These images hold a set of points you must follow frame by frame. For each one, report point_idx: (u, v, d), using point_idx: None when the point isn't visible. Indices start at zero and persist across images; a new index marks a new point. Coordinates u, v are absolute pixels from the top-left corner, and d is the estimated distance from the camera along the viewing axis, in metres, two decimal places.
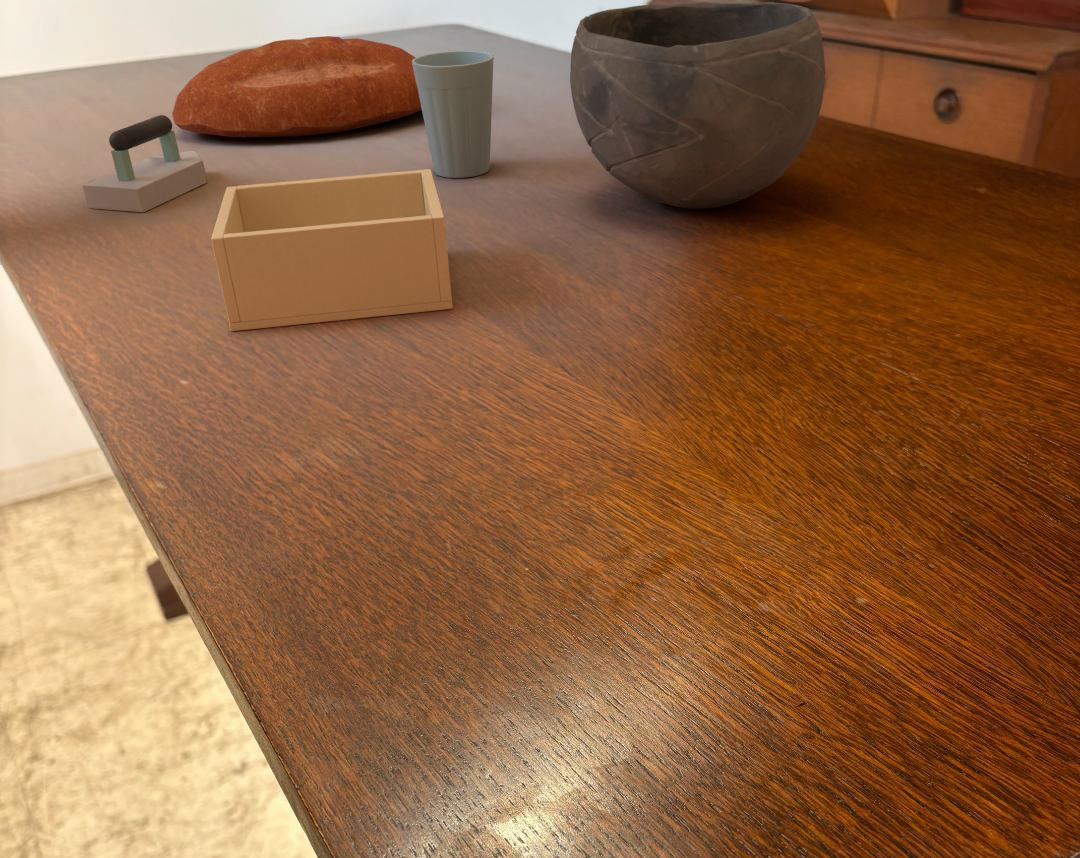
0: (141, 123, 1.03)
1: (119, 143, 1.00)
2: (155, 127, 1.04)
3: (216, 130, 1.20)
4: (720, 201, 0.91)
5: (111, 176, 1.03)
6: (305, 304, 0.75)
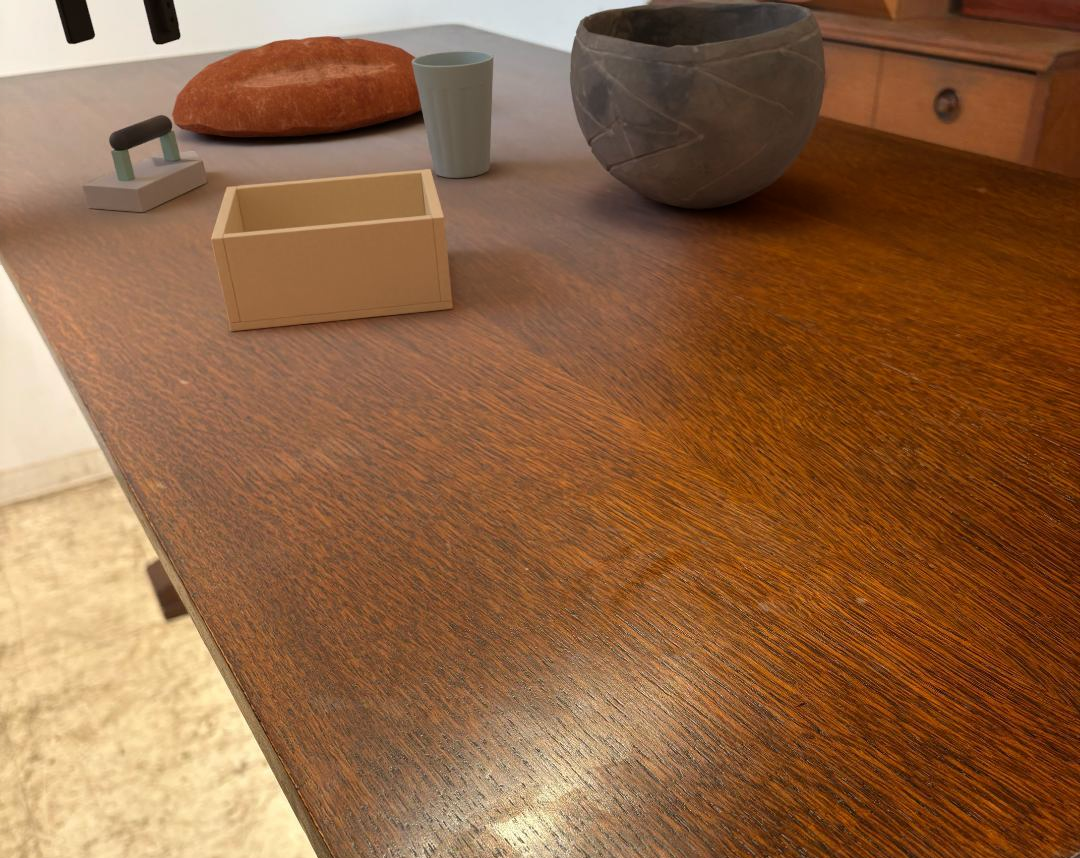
0: (141, 123, 1.03)
1: (119, 143, 1.00)
2: (155, 127, 1.04)
3: (216, 130, 1.20)
4: (720, 201, 0.91)
5: (111, 176, 1.03)
6: (305, 304, 0.75)
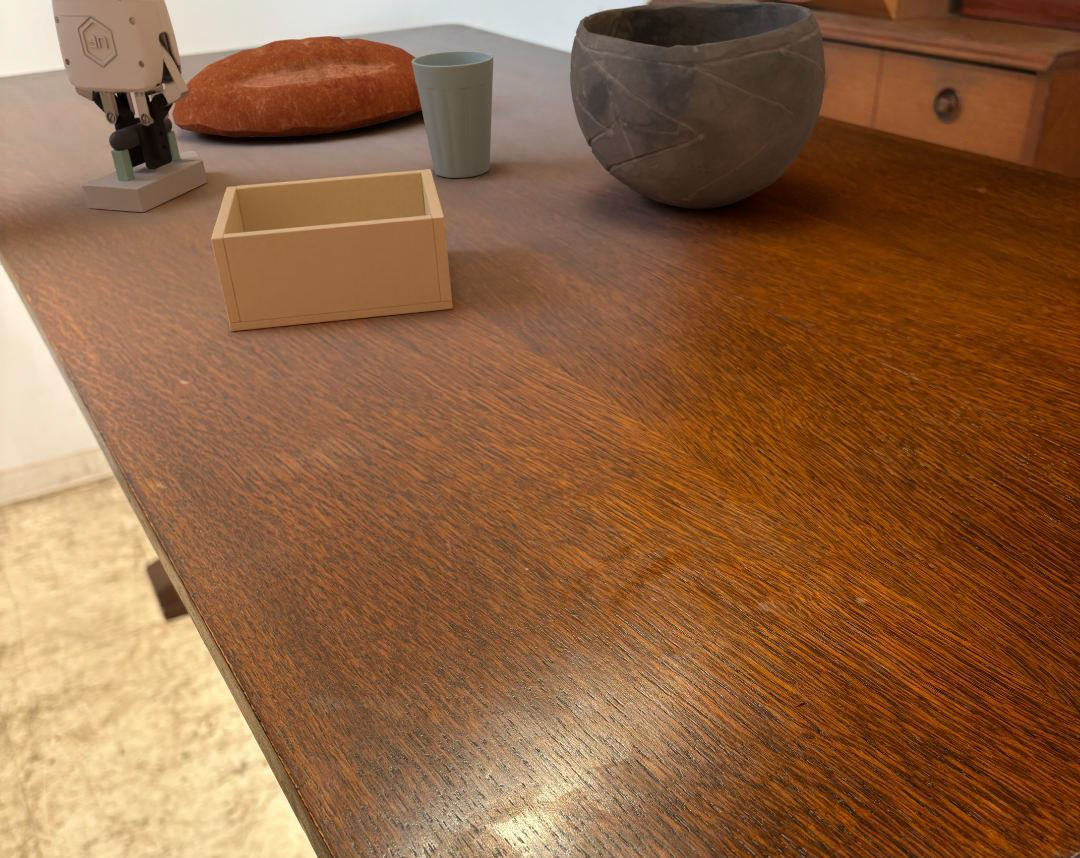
0: (141, 123, 1.03)
1: (119, 143, 1.00)
2: None
3: (216, 130, 1.20)
4: (720, 201, 0.91)
5: (111, 176, 1.03)
6: (305, 304, 0.75)
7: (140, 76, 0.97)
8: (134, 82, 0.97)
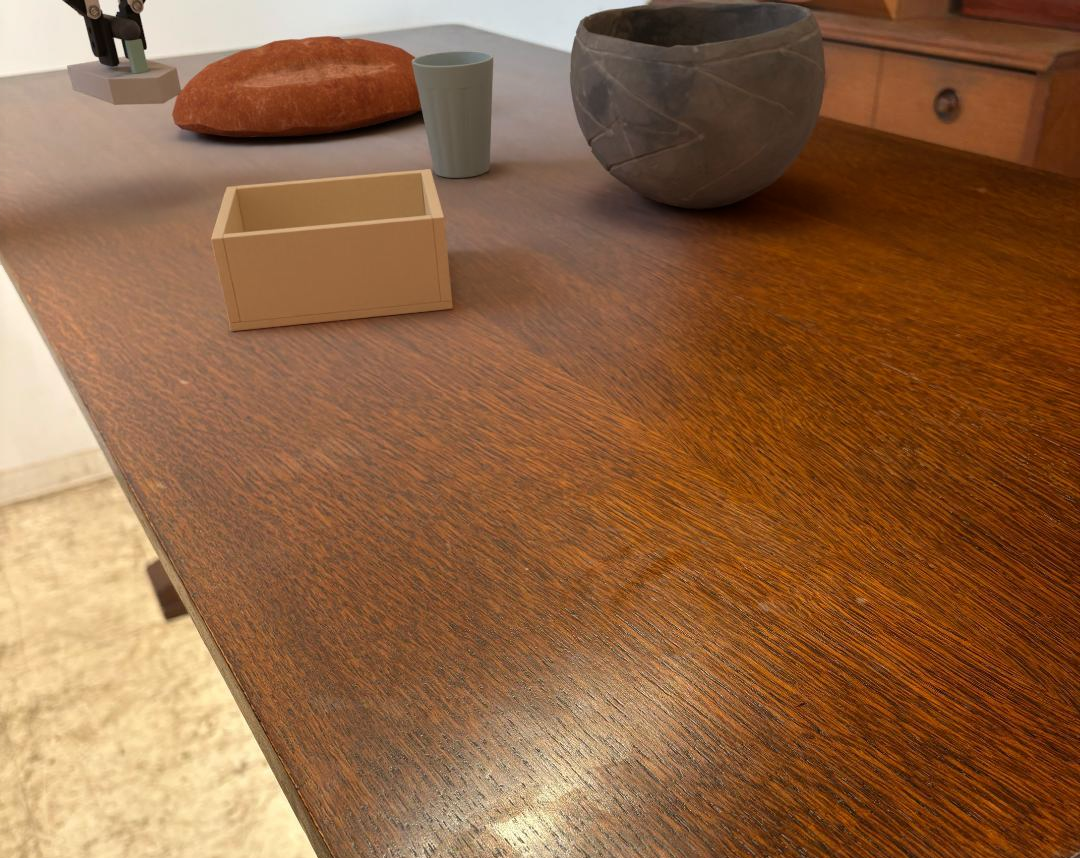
0: (110, 17, 0.97)
1: None
2: None
3: (216, 130, 1.20)
4: (720, 201, 0.91)
5: None
6: (305, 304, 0.75)
7: None
8: None
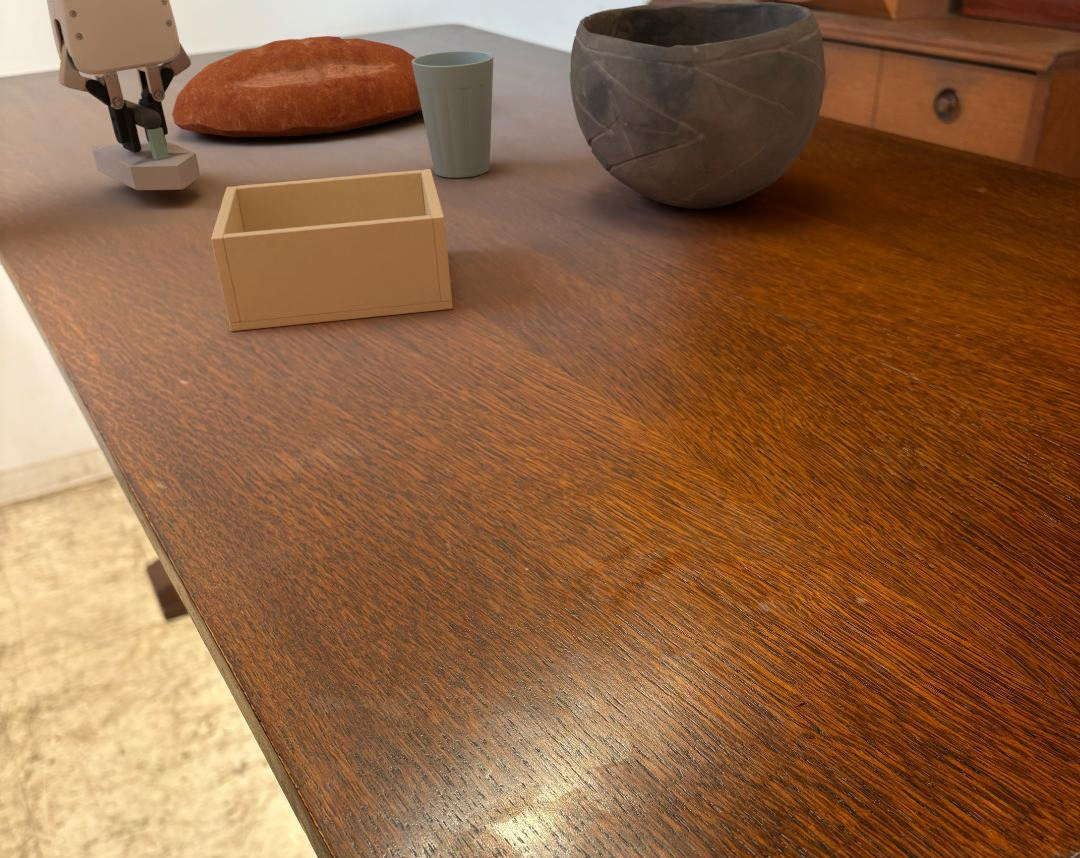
0: (133, 105, 1.02)
1: None
2: None
3: (216, 130, 1.20)
4: (720, 201, 0.91)
5: None
6: (305, 304, 0.75)
7: None
8: None
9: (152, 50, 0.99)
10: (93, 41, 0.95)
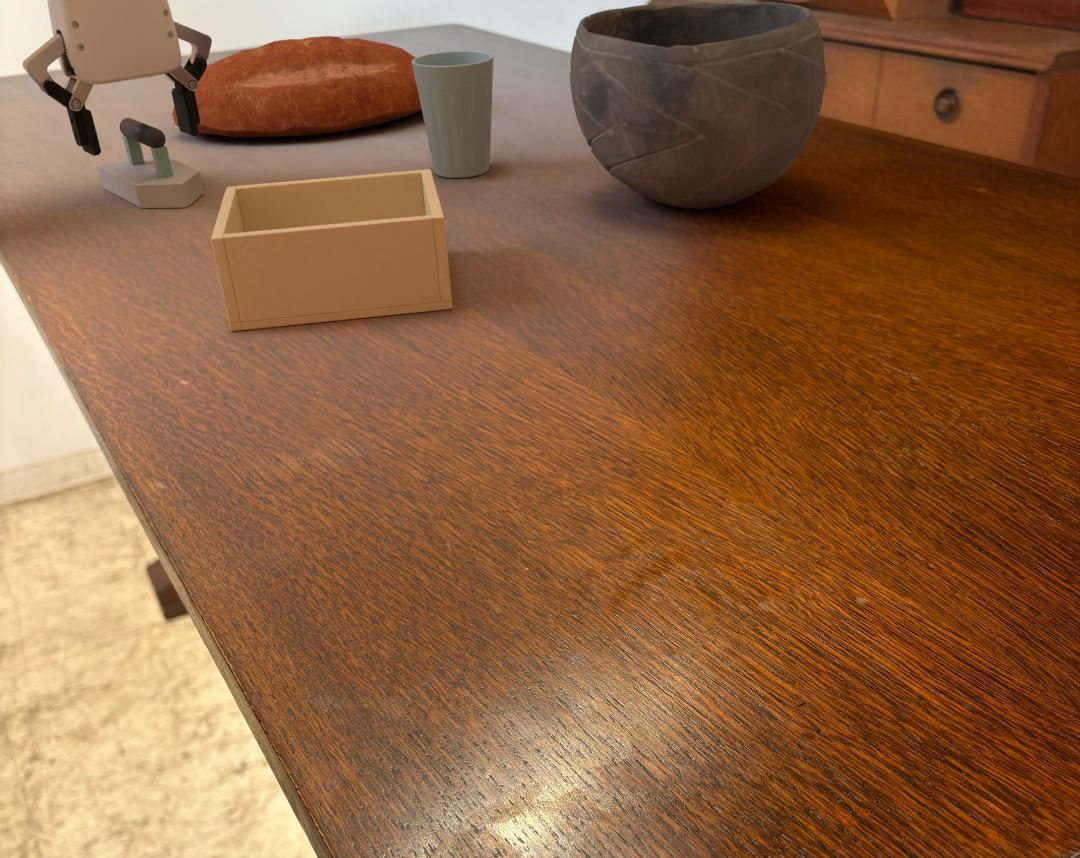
0: (137, 124, 1.02)
1: None
2: (137, 133, 1.02)
3: (216, 130, 1.20)
4: (720, 201, 0.91)
5: None
6: (305, 304, 0.75)
7: None
8: None
9: (153, 61, 0.99)
10: (94, 52, 0.96)
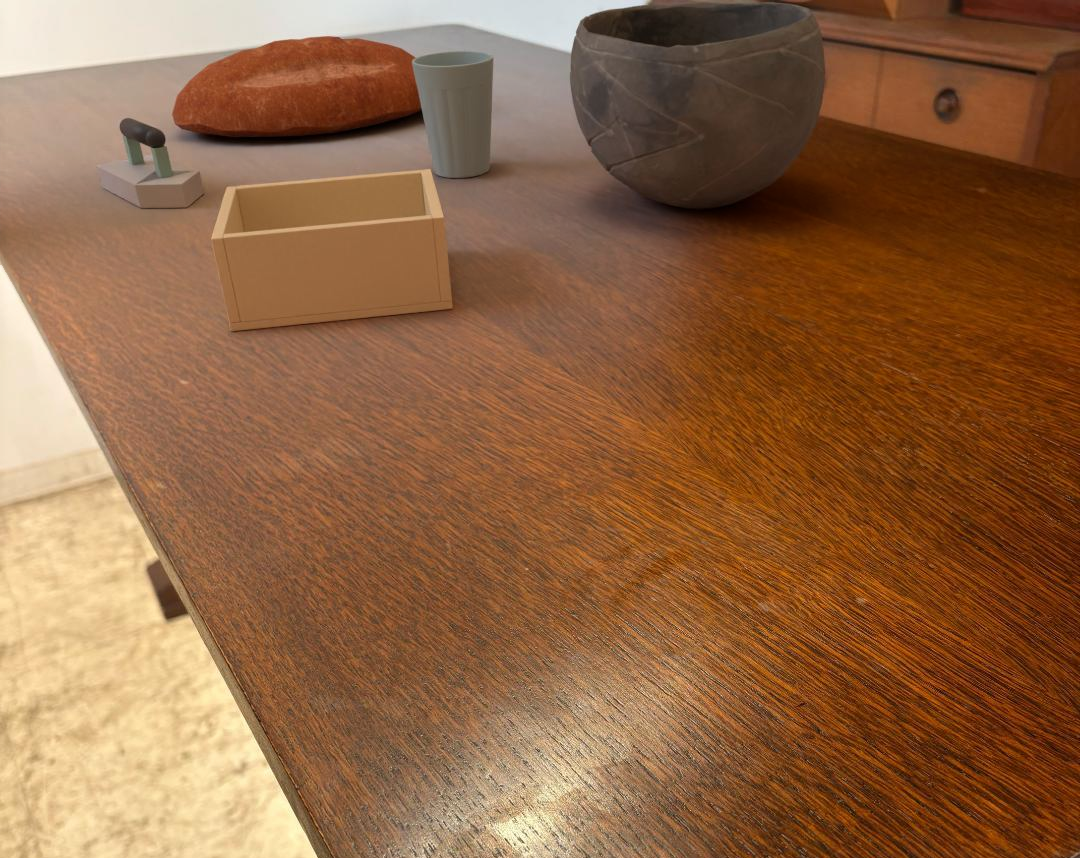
0: (137, 124, 1.02)
1: None
2: (137, 133, 1.02)
3: (216, 130, 1.20)
4: (720, 201, 0.91)
5: None
6: (305, 304, 0.75)
7: None
8: None
9: None
10: None
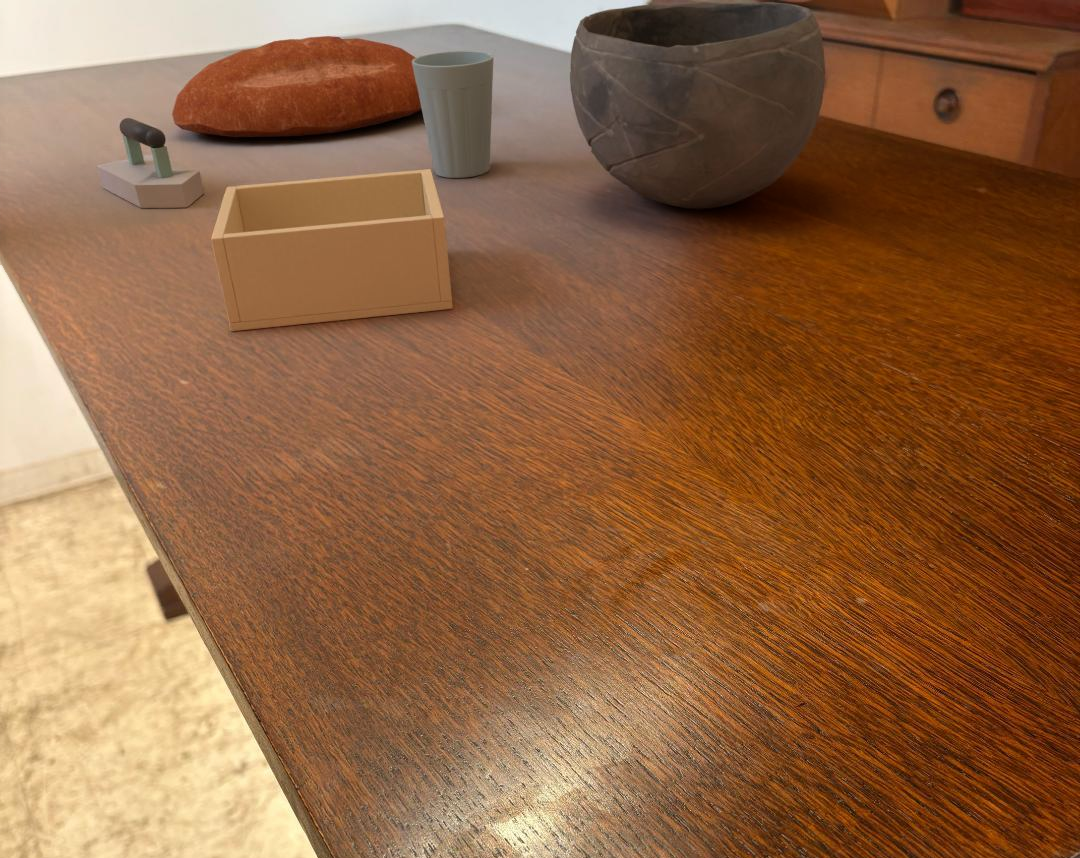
0: (137, 124, 1.02)
1: None
2: (137, 133, 1.02)
3: (216, 130, 1.20)
4: (720, 201, 0.91)
5: None
6: (305, 304, 0.75)
7: None
8: None
9: None
10: None
